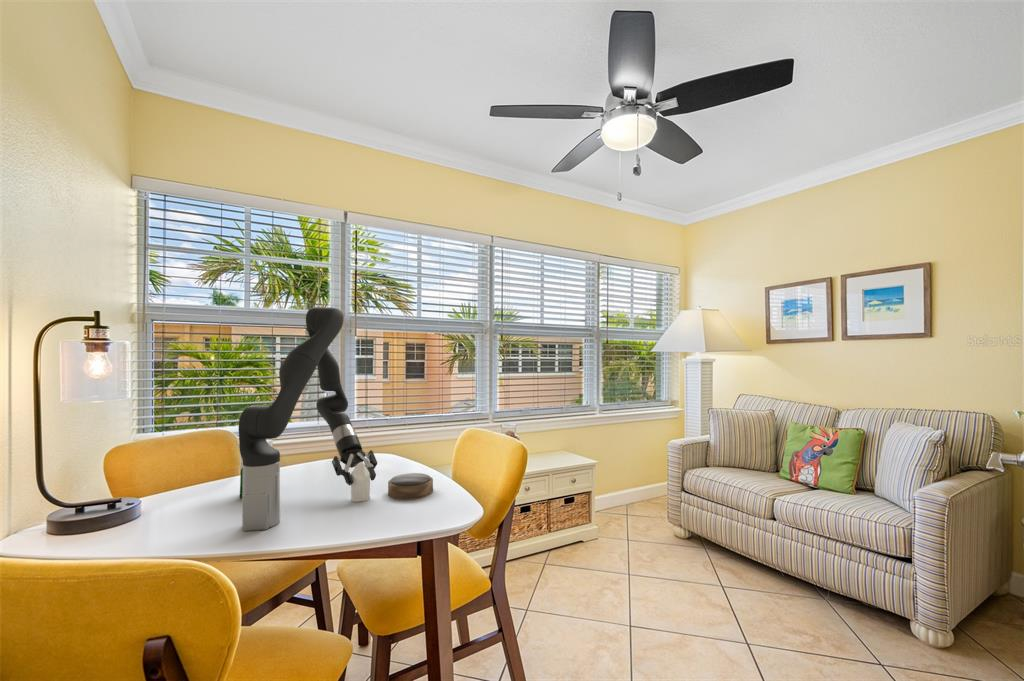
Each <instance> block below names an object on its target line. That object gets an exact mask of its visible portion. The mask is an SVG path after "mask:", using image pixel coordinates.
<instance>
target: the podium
mask: <svg viewBox="0 0 1024 681" xmlns="http://www.w3.org/2000/svg"><path fill="white" fill-rule="evenodd" d="M387 485H388V486H387V495H388V497H390V498H392V499H395V500H414V499H415V500H416V499H420V498H424V497H427V496H429V495H431V494H432V493H433V491H434V479H433V477H431V476H430V475H429V474H427V473H419V472H418V473H416V472H411V473H410V472H409V473H404V474H399V475H395V476H392V478H391V479H389V480H388V482H387Z"/></svg>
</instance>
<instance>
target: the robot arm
mask: <svg viewBox="0 0 1024 681" xmlns="http://www.w3.org/2000/svg"><path fill="white" fill-rule="evenodd" d="M344 319H345V316H344V313H343V311H342V309H340V308H337V307H333V306H332V307H331V306H329V307H324V306H314V307H310V308H309V309H308V310H307V312H306V315H305V324H306V325H305V326H306V330H307V333H308V339H306V340H304V341H302V342H301V343H300V344H298V345H297V346H295V347H294V348H292V350H290V351H289V353H288V354H287V356H286V357H285V359H284V360H283V362H282V363H281V365H280V367H279V372H278V373H279V374H278V378H279V384H280V386H279V387H280V390H279V392H278V394H277V397H276V398H275V400H274V401H273V403H272V404H270V405H250V406H247V407H246V408H244V409H243V411H242V412H241V413H240V416H239V419H238V441H239V442H238V444H239V445H238V448H239V447H240V450H239V454H240V455H241V456H240V458H241V457H242V460H243V494H242V499H241V500H242V501H241V502H242V503H241V505H242V510H241V512H242V514H241V515H242V516H241V517H242V519H241V520H242V523H241V524H242V527H241V528H242V531H243V532H246V531H249V532H250V531H261V530H268V529H269V528H271V527H275V526H276V525H278V524H279V523H280V521H281V520H280V518H281V514H280V512H281V510H280V508H281V505H280V504H281V501H280V500H281V499H280V498H281V496H280V493H281V488H280V487H281V485H280V484H281V475H280V474H281V473H280V472H281V453H280V451H279V450H278V449H277V448H275V447H273V446H272V447H271V446H270V445H269V444H268V443H267V441H266V440H274V439H277V438H278V437H280V436H281V435H282V434H283V432H284V431H285V430H286V428H287V425H288V424H289V422H290V419H291V417H292V415H293V412H294V410H295V408H296V406H297V403H298V401H299V399H300V397H301V395H302V393H303V391H304V390H305V387H306V385H307V384H308V382H309V381H310V379H311V378H312V376H313V374H314V373H315V371H316V368H317V373H318V382H319V388H320V389H321V391H324V392H334V393H335V394H329V395H326V396H322V397H319V398H318V399H317V401H316V409H317V412H318V413H319V415H320V416H321V417H322V419H323V420H324V421H325V422H326V423H327V425H328V426H329V429H330V432H331V435H332V439H333V442H334V445H335V448H336V449H337V452H338V455H339V456H334V457H333V458H332V460H331V465H332V466H333V469H334V472H335V474H336V476H338V477H340V476H343V479H344V481H345V483H346V484H347V485H348V486H351V485H352V483H353V480H352V477H351V473H350V472H349V471H350V468H352V469H354V468H355V466H356V465H357V464H358V463H360V462H363V463H364V464H365V467H366V469H367V470H368V472H369V473H370V482H371V481H374V480H375V479H376V476H377V473H376V471H375V469H376V467H377V465H378V461H377V458H376V456H375V453H374V451H373V450H371V449H370V450H369V451H367V452H365V451H364V450H363V448H362V444H361V442H360V440H359V437H358V434H357V432H356V430H355V429H354V426H353V424H352V421H351V419H350V417H349V416H348V414H346V413H344V412H346V410H348V408H349V401H348V399H347V396H346V394H345V392H344V389H343V386H342V383H341V382H342V381H341V373H340V372H341V371H340V366H339V363H338V361H337V360H336V358H335V357H334V355H333V354H332V352H331V351H330V349H329V346H330V345H331V344H332V342H333V341H334V340H335V339H336V338H337V336H338V335H339V333H340V332H341V329H342V328H343V325H344V321H345V320H344ZM341 463H343V464H344V468H342V465H341Z"/></svg>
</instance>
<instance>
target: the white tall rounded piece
mask: <svg viewBox="0 0 1024 681" xmlns="http://www.w3.org/2000/svg"><path fill="white" fill-rule="evenodd" d="M350 475H351V477H352V480H353V483H352V485H350V500H351V502H354V503H357V502H358V503H359V502H365V501H369V500H370V498H371V496H370V495H371V479H370V473H369V472H368V470H367V469H366V467H365V464H364V461H363V462H360V463H358V464H357V465H356V466H355V467H353V470H352V471H351V473H350Z"/></svg>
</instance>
